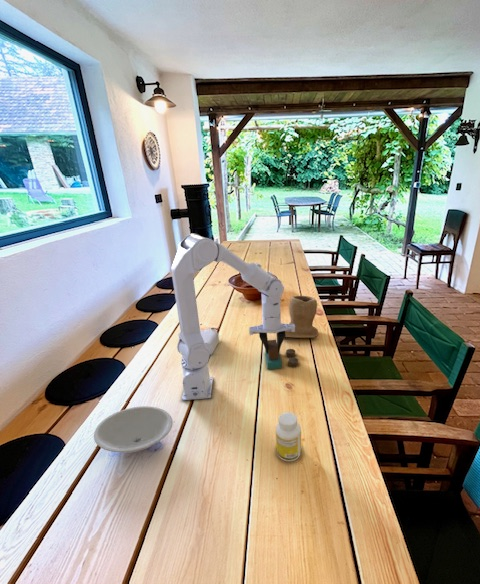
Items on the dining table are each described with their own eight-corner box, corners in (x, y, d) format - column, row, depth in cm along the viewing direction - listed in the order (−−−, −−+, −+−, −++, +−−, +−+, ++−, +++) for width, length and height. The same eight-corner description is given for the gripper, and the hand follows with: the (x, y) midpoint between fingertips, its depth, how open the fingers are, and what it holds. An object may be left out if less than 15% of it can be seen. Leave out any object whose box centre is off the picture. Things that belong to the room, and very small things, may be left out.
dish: (85, 466, 71) (78, 449, 69) (118, 420, 84) (113, 405, 82) (162, 470, 69) (158, 453, 67) (184, 422, 82) (181, 407, 80)
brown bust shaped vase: (318, 327, 129) (319, 292, 122) (317, 342, 118) (319, 304, 112) (280, 326, 131) (279, 291, 125) (276, 340, 120) (275, 303, 114)
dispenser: (223, 335, 125) (212, 355, 112) (201, 334, 127) (187, 353, 113) (222, 324, 123) (210, 343, 110) (199, 323, 125) (185, 342, 111)
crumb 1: (296, 357, 109) (296, 352, 108) (286, 358, 109) (286, 353, 108) (294, 352, 112) (294, 348, 111) (285, 353, 112) (285, 349, 111)
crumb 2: (298, 366, 104) (298, 362, 103) (289, 367, 103) (288, 363, 103) (297, 361, 106) (297, 357, 106) (287, 362, 106) (287, 357, 106)
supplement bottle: (286, 439, 75) (285, 406, 71) (305, 450, 72) (306, 416, 68) (271, 454, 72) (270, 420, 68) (291, 466, 69) (291, 431, 64)
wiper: (281, 368, 103) (281, 352, 100) (267, 369, 103) (267, 353, 100) (277, 352, 112) (277, 337, 110) (265, 353, 112) (264, 338, 109)
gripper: (292, 307, 104) (292, 344, 110) (247, 310, 104) (250, 347, 109) (296, 316, 98) (296, 354, 104) (248, 319, 97) (251, 358, 103)
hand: (272, 351), depth 106 cm, fingers closed on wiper, 3 cm apart
